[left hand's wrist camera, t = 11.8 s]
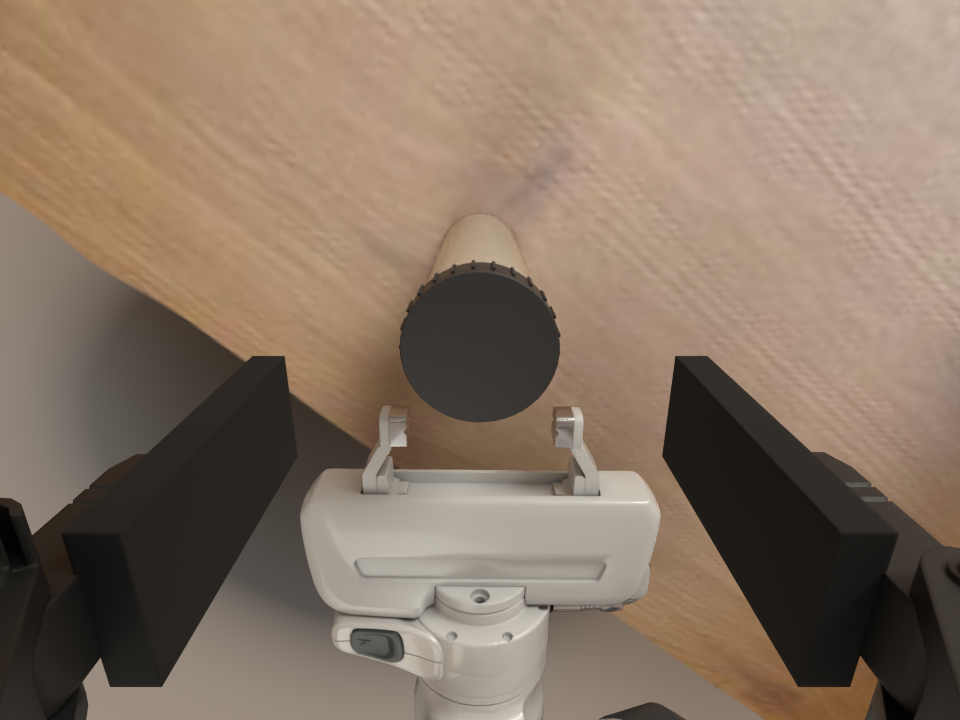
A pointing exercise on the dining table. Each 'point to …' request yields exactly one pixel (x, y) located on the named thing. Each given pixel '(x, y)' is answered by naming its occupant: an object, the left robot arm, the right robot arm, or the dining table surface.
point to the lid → (479, 342)
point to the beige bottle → (479, 245)
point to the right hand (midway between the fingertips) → (481, 410)
